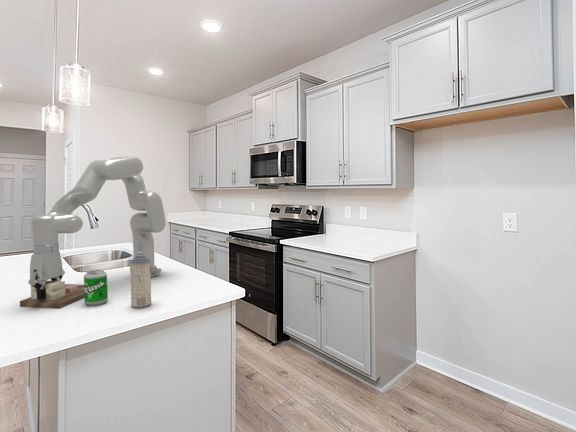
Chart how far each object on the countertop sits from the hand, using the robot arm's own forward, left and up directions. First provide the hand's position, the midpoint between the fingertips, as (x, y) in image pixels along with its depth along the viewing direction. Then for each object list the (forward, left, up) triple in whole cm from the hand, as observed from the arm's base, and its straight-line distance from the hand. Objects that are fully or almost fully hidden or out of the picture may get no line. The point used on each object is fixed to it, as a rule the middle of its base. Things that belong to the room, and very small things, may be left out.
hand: (48, 296), depth 122 cm
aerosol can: (-35, -3, -3) cm, 35 cm away
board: (0, -7, -3) cm, 8 cm away
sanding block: (0, 0, -1) cm, 1 cm away
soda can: (-17, -3, -3) cm, 18 cm away
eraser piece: (0, -10, -1) cm, 10 cm away
